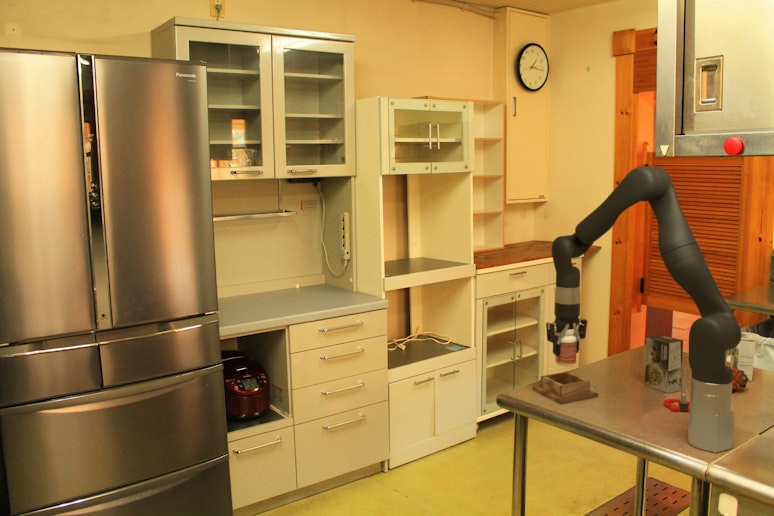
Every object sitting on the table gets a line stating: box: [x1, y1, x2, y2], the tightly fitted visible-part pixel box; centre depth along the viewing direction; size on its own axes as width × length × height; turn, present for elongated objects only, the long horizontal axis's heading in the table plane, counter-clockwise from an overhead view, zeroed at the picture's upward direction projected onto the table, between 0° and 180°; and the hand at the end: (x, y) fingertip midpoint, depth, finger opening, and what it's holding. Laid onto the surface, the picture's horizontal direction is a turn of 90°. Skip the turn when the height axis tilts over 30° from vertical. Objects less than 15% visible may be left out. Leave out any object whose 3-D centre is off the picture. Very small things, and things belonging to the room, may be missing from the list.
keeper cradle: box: [532, 371, 599, 406], centre depth 203 cm, size 14×14×5 cm
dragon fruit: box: [725, 364, 749, 392], centre depth 204 cm, size 8×8×12 cm
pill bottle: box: [555, 329, 577, 367], centre depth 201 cm, size 6×6×11 cm
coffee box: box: [644, 334, 684, 394], centre depth 206 cm, size 9×6×16 cm
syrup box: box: [729, 332, 756, 382], centre depth 214 cm, size 6×6×14 cm
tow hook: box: [663, 366, 690, 413], centre depth 191 cm, size 8×13×9 cm
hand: (566, 353), depth 201 cm, fingers closed on pill bottle, 6 cm apart
